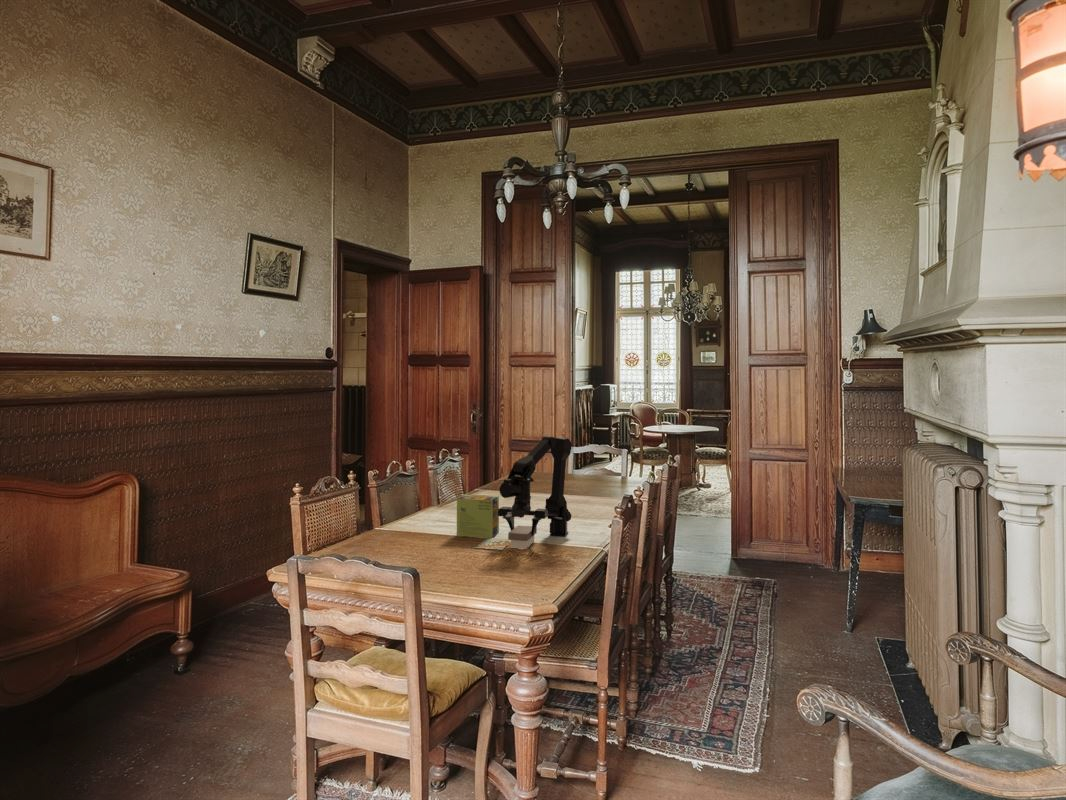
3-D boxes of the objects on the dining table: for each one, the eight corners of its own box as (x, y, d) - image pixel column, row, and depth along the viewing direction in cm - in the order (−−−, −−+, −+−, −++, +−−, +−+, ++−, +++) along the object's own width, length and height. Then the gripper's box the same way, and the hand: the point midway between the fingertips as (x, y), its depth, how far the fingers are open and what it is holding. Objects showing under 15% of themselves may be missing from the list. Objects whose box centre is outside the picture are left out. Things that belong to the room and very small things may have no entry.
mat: (514, 540, 264) (514, 539, 264) (502, 550, 248) (502, 549, 248) (488, 538, 267) (488, 537, 267) (474, 548, 251) (474, 547, 251)
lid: (536, 532, 262) (536, 526, 262) (527, 540, 249) (527, 534, 249) (518, 531, 264) (518, 525, 264) (508, 539, 251) (508, 533, 251)
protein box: (493, 538, 267) (493, 499, 267) (456, 536, 270) (456, 498, 270) (499, 532, 278) (499, 495, 277) (464, 530, 281) (463, 494, 280)
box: (534, 542, 262) (534, 529, 261) (525, 549, 250) (525, 536, 250) (519, 541, 263) (519, 528, 263) (510, 548, 252) (510, 535, 251)
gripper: (492, 496, 251) (492, 538, 251) (541, 499, 246) (540, 541, 246) (502, 491, 261) (502, 531, 262) (548, 494, 256) (548, 534, 257)
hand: (522, 534), depth 256 cm, fingers closed on lid, 7 cm apart
